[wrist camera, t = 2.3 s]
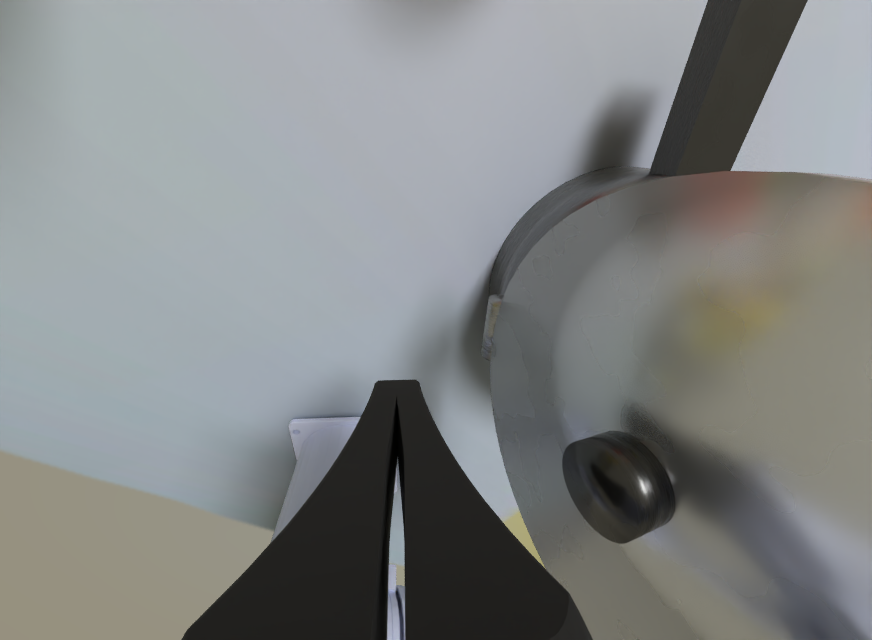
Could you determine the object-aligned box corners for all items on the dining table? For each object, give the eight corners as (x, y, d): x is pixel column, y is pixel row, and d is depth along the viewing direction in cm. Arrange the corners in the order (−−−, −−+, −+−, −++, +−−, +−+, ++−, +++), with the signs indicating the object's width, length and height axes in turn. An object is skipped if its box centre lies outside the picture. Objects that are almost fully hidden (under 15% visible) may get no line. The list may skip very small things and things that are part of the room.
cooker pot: (651, 367, 25) (704, 415, 21) (477, 371, 24) (494, 423, 19) (806, 41, 15) (964, 2, 11) (528, 12, 14) (585, -46, 10)
